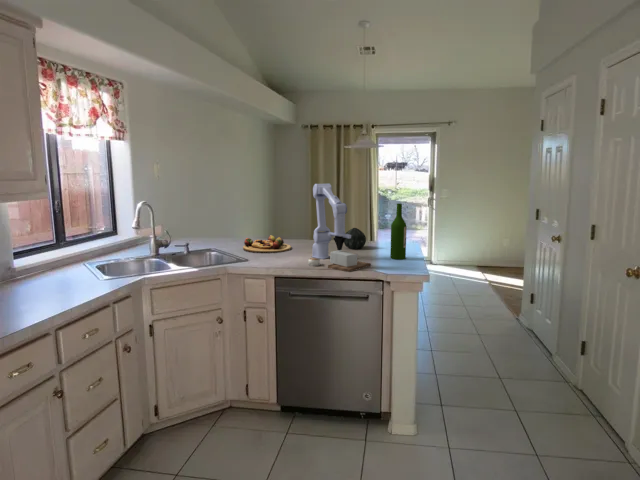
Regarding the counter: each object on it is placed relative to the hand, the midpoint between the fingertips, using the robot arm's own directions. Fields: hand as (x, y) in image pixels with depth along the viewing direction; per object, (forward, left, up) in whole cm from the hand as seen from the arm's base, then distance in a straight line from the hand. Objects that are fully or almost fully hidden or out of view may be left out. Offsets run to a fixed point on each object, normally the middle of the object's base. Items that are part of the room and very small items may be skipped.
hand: (339, 250), depth 250 cm
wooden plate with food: (-68, +9, -9) cm, 69 cm away
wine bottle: (+15, +37, -9) cm, 41 cm away
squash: (-25, +48, -9) cm, 55 cm away
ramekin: (-11, -9, -8) cm, 17 cm away
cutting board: (+7, 0, -8) cm, 11 cm away
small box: (-3, -1, -4) cm, 5 cm away
